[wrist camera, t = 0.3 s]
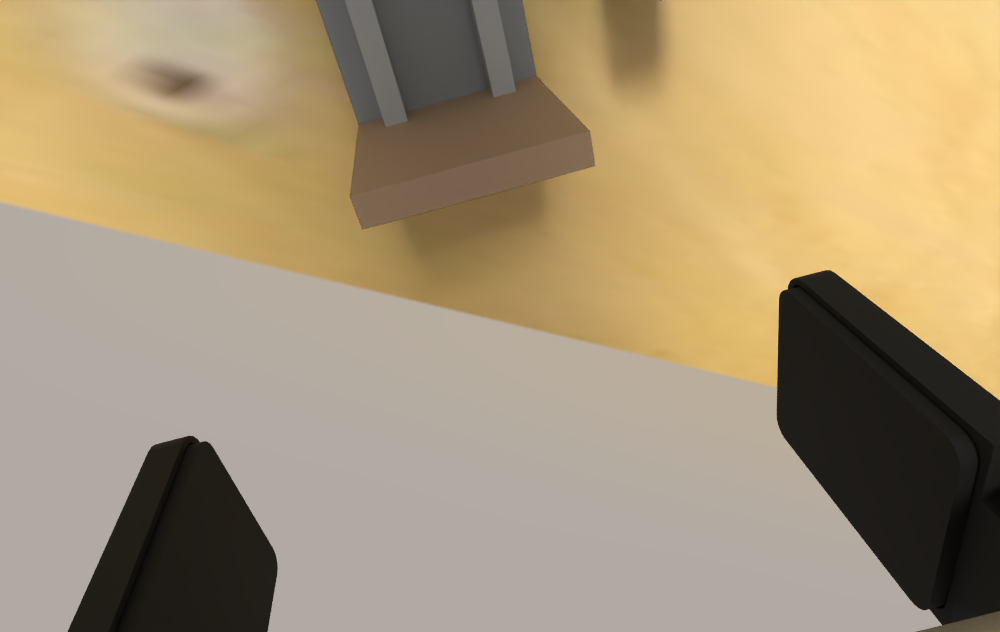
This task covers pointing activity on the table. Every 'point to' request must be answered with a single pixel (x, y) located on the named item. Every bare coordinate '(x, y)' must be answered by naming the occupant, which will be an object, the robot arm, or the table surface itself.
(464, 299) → the table surface
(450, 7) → the door frame
